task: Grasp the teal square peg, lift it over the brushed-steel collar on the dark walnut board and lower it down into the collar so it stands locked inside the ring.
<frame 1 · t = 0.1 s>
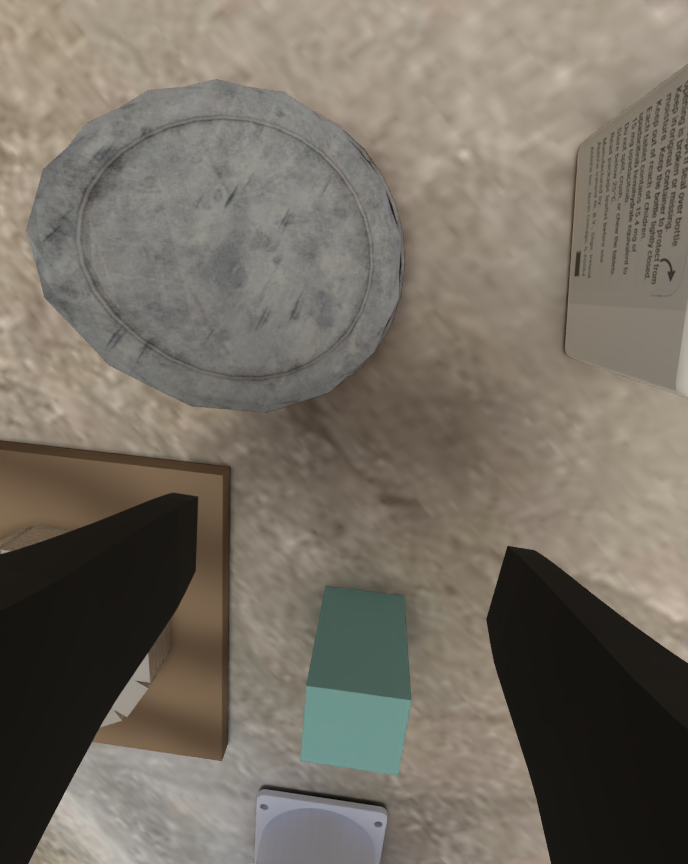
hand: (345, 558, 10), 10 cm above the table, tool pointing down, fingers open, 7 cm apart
walnut board: (84, 602, 24), on the table
steel collar: (57, 631, 22), on the walnut board, point 2 cm above the table
teal peg: (360, 622, 23), on the table
container: (671, 248, 17), on the table
canned food: (281, 268, 18), on the table
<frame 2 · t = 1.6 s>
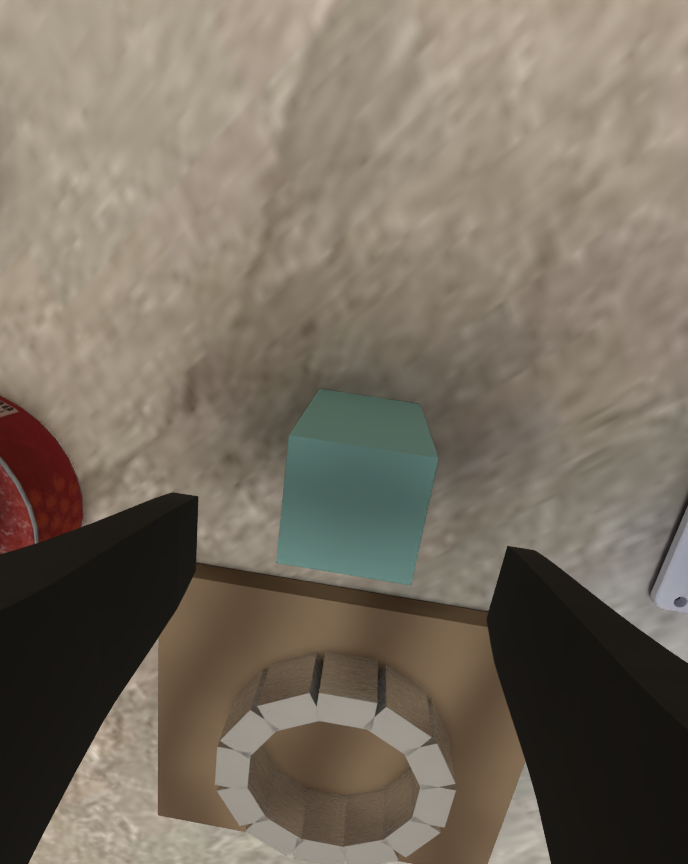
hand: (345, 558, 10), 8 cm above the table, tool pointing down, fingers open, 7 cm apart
walnut board: (338, 720, 22), on the table
steel collar: (334, 762, 20), on the walnut board, point 2 cm above the table
teal peg: (362, 443, 18), on the table
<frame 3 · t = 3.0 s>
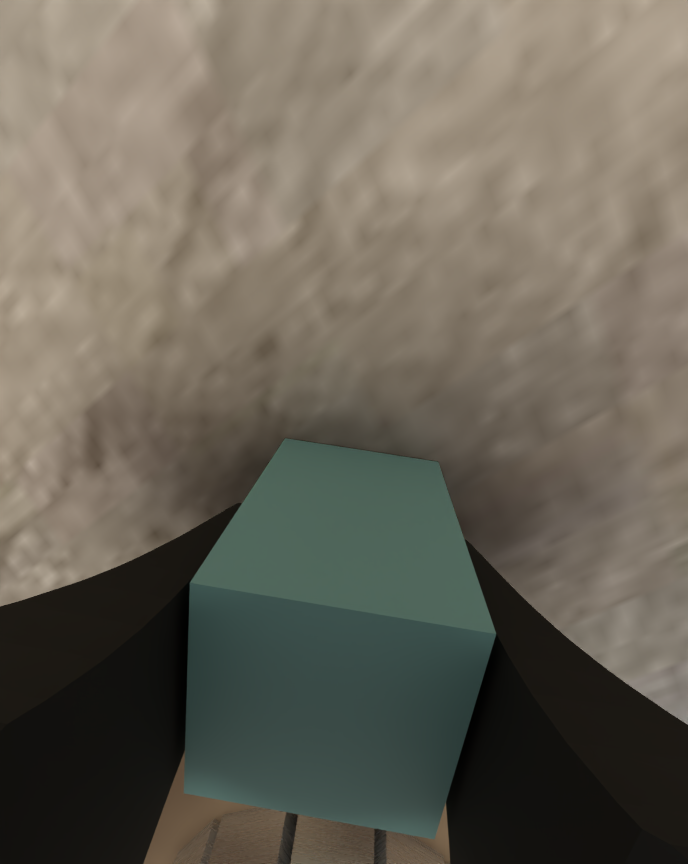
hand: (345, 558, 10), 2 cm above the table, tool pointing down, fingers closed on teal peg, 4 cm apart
teal peg: (350, 518, 12), on the table, touching gripper
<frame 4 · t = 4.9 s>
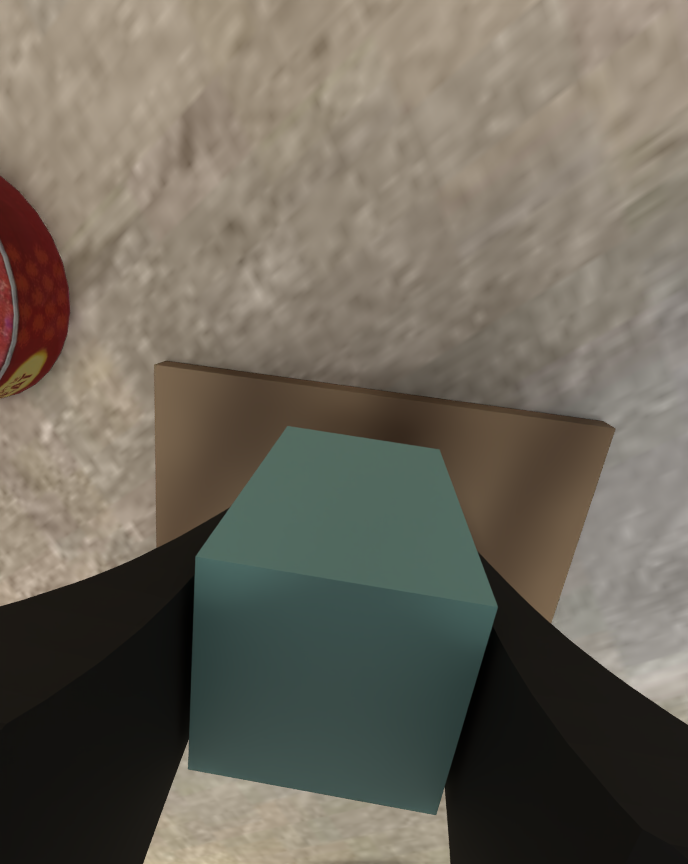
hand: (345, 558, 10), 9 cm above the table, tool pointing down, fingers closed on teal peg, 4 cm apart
walnut board: (354, 557, 20), on the table
teal peg: (352, 505, 12), point 7 cm above the table, touching gripper
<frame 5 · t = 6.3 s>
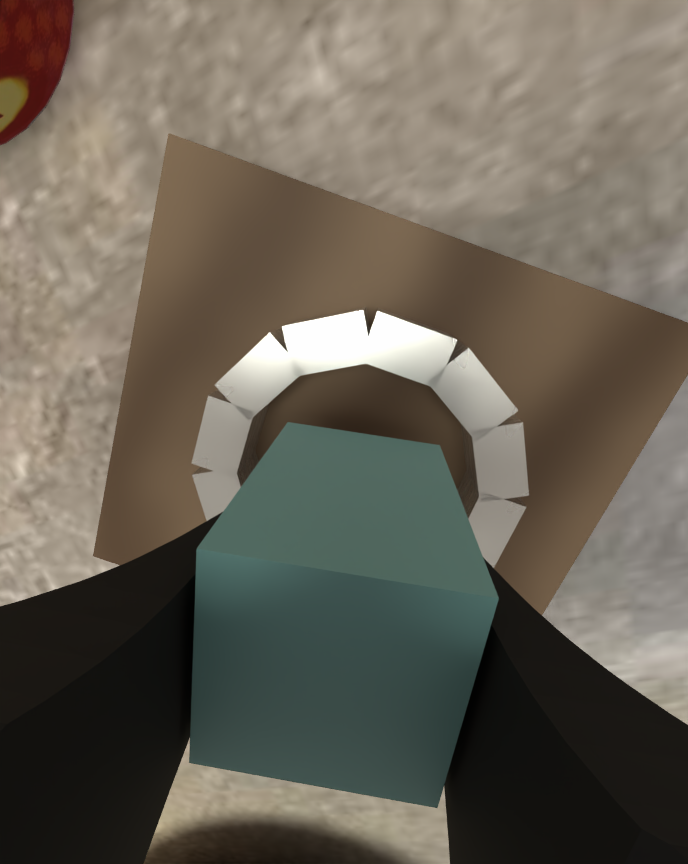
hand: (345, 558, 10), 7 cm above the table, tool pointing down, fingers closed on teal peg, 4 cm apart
walnut board: (360, 450, 17), on the table
steel collar: (357, 471, 15), on the walnut board, point 2 cm above the table
teal peg: (352, 502, 12), point 5 cm above the table, touching gripper
when the fingers open (4 cm above the table, at t = 7.2 s): teal peg drops 1 cm, resting on walnut board.
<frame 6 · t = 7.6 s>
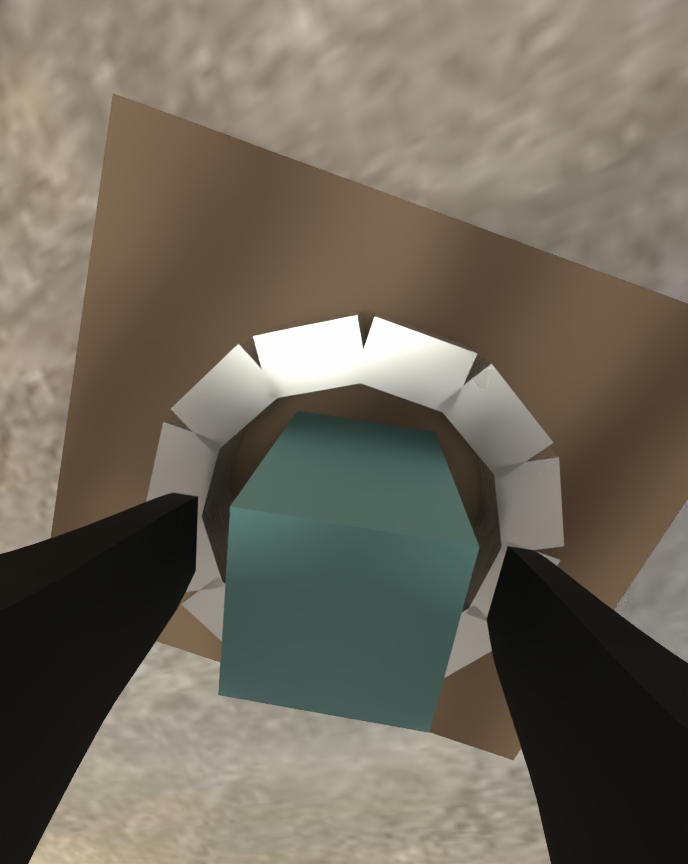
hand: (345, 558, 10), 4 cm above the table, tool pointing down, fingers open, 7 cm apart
walnut board: (355, 480, 14), on the table
steel collar: (351, 511, 12), on the walnut board, point 2 cm above the table
teal peg: (355, 483, 13), point 1 cm above the table, touching walnut board
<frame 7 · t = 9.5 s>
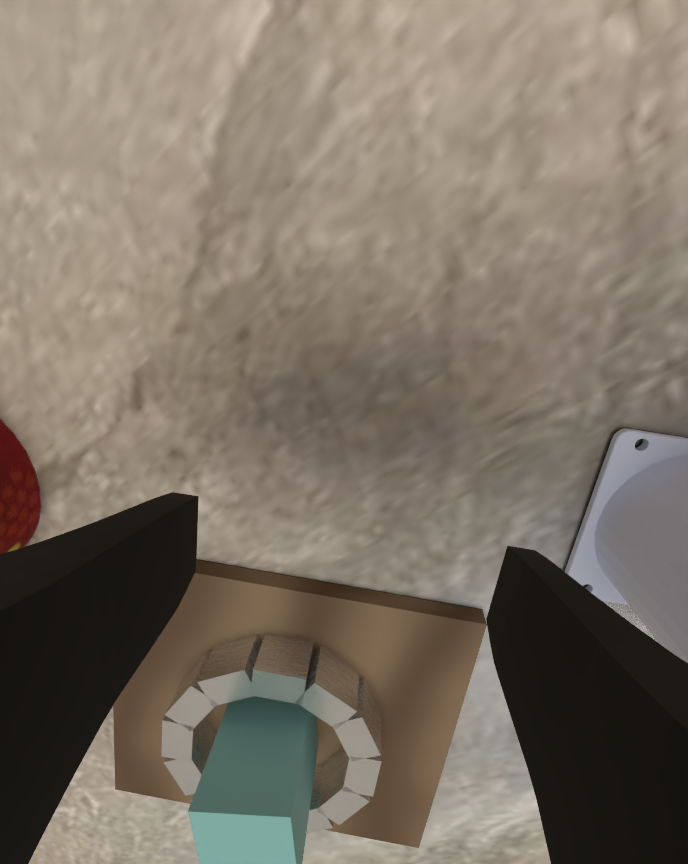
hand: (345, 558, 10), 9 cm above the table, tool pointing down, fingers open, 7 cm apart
walnut board: (282, 700, 24), on the table
steel collar: (274, 736, 22), on the walnut board, point 2 cm above the table
teal peg: (278, 711, 23), point 1 cm above the table, touching walnut board
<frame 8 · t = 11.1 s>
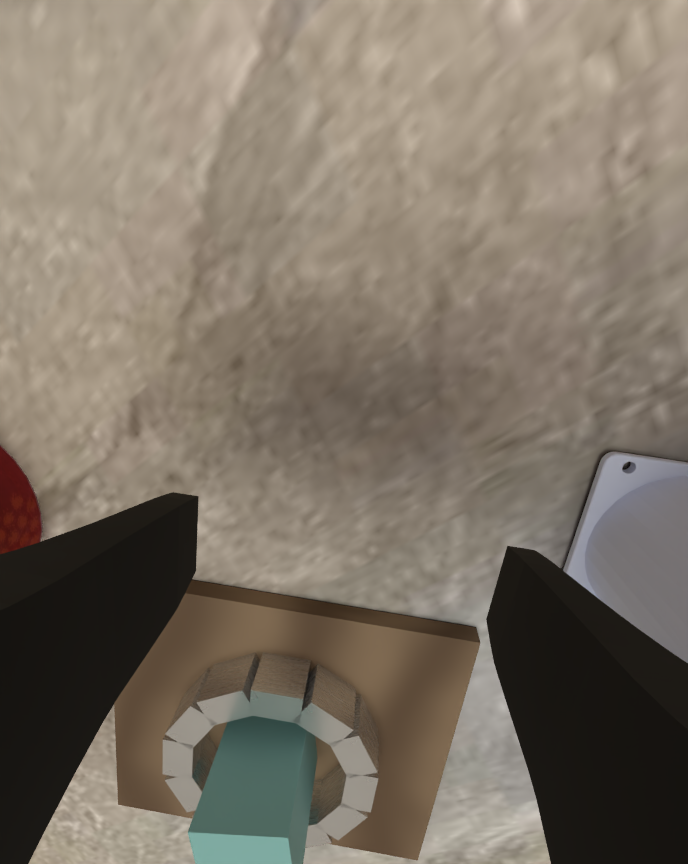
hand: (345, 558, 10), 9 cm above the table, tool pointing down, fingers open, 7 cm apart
walnut board: (281, 716, 24), on the table
steel collar: (272, 753, 22), on the walnut board, point 2 cm above the table
teal peg: (277, 728, 23), point 1 cm above the table, touching walnut board
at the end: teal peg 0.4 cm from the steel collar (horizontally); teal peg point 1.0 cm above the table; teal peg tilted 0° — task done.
